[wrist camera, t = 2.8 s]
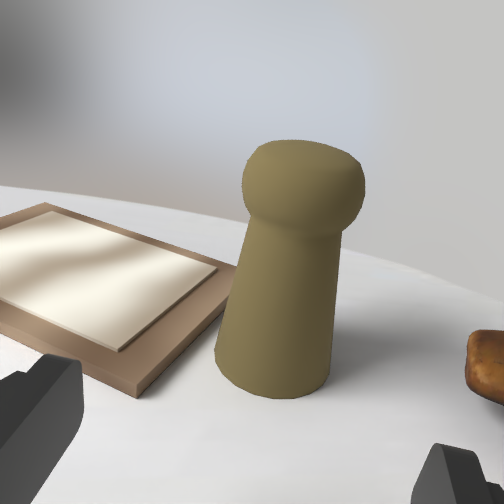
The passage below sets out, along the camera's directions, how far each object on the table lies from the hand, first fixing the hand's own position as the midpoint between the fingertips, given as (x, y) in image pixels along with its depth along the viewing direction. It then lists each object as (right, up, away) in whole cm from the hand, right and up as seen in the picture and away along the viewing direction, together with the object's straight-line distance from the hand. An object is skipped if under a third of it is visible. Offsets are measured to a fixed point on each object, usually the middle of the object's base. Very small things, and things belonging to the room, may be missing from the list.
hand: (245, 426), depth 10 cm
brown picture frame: (-11, +2, +17) cm, 20 cm away
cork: (+1, -2, +13) cm, 13 cm away
